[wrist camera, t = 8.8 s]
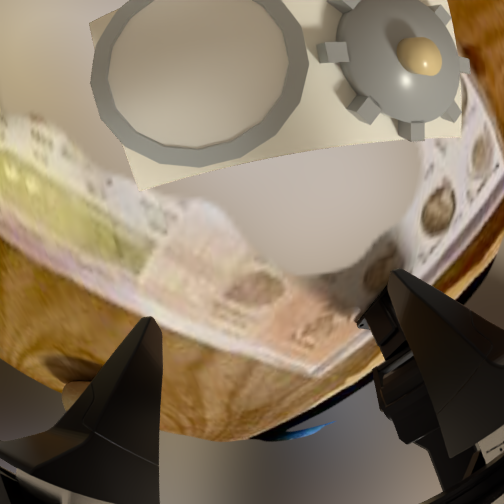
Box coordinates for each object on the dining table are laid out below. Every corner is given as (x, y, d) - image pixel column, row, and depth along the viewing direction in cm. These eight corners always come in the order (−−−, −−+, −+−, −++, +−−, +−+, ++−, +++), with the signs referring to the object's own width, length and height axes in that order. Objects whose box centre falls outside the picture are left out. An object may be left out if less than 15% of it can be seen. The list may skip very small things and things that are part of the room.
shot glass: (144, 25, 10) (89, -6, 4) (272, 16, 10) (309, -27, 5) (149, 136, 14) (102, 180, 8) (271, 129, 14) (305, 166, 9)
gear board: (433, -2, 9) (472, -7, 6) (449, 132, 16) (486, 149, 13) (98, 26, 10) (64, 16, 7) (145, 183, 17) (125, 213, 14)
